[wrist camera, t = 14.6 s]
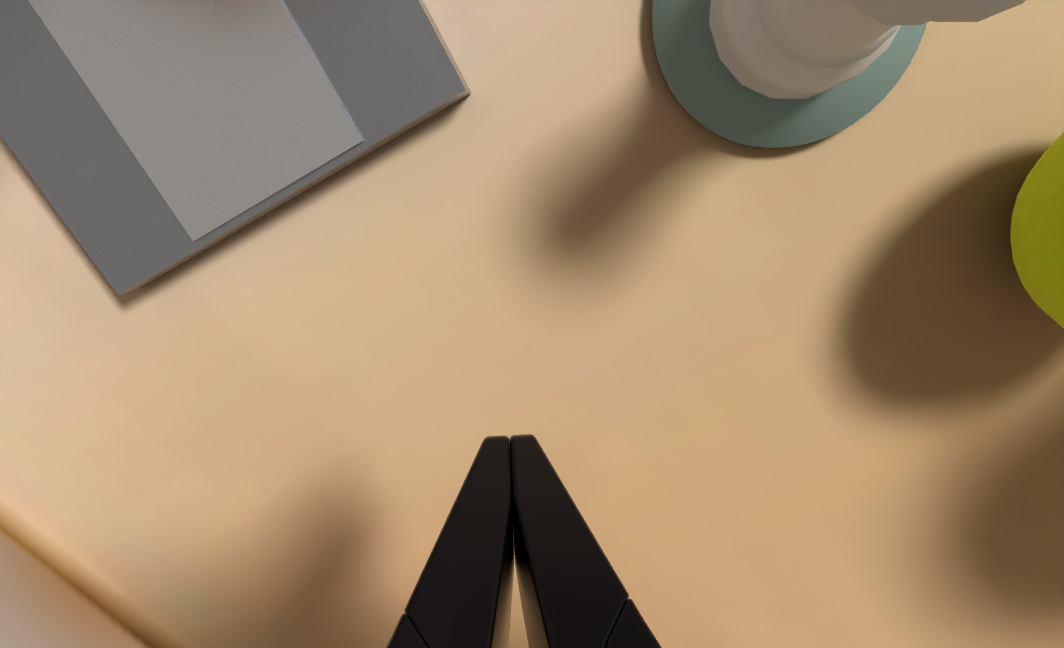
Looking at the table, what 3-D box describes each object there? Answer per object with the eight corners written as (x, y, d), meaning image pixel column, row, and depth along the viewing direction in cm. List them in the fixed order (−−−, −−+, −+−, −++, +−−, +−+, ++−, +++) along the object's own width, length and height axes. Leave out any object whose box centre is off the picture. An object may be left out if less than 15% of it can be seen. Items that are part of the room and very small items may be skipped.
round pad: (826, 189, 17) (834, 190, 16) (606, 80, 16) (607, 77, 16) (981, -69, 15) (995, -75, 15) (736, -203, 14) (743, -215, 14)
